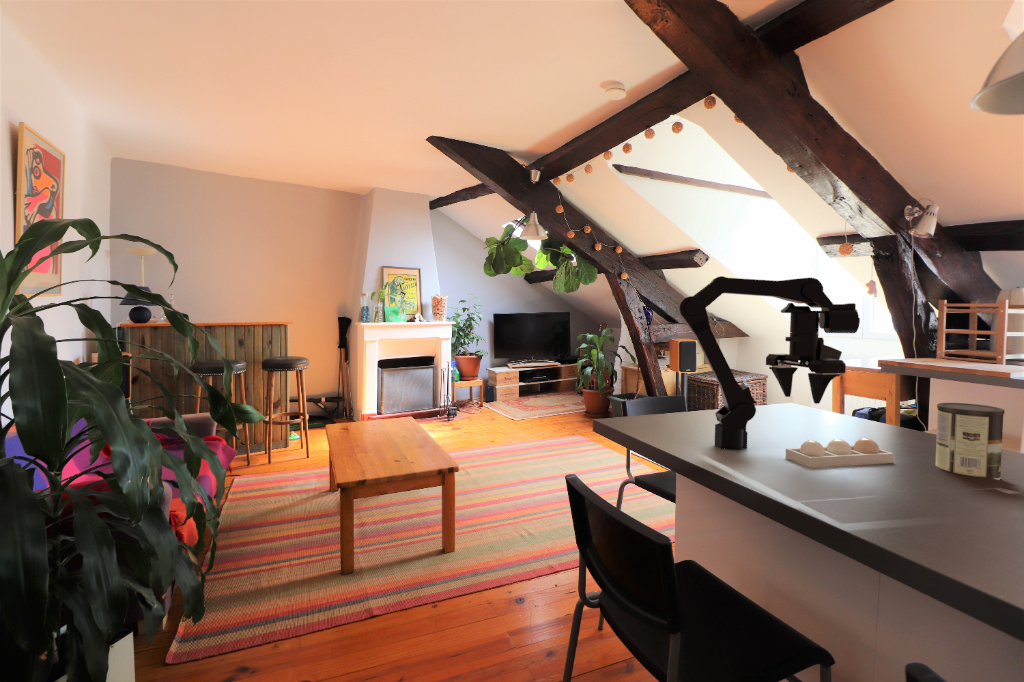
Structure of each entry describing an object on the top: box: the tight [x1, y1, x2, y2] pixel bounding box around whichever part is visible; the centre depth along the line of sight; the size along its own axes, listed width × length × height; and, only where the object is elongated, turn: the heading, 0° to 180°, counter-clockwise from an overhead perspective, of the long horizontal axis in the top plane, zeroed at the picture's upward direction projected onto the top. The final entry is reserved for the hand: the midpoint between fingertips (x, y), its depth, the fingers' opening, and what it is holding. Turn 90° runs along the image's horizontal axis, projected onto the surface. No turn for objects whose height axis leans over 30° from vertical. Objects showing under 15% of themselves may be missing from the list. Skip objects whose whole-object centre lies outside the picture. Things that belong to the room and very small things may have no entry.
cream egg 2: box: [826, 438, 852, 455], centre depth 111 cm, size 5×5×5 cm
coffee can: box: [935, 402, 1006, 481], centre depth 104 cm, size 10×10×14 cm
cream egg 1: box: [799, 439, 825, 457], centre depth 110 cm, size 5×5×5 cm
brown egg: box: [853, 437, 880, 454], centre depth 112 cm, size 5×5×5 cm
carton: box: [785, 444, 895, 468], centre depth 111 cm, size 20×7×3 cm, turn 100°
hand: (801, 400), depth 117 cm, fingers open, 9 cm apart
